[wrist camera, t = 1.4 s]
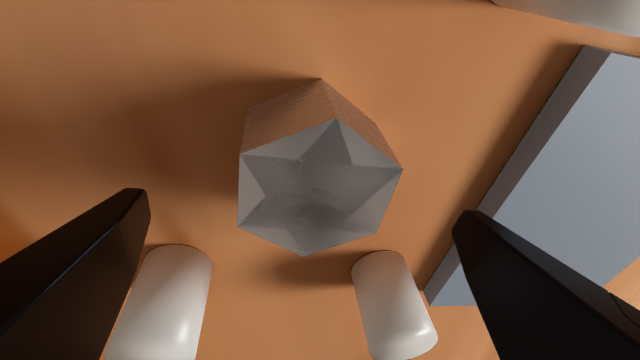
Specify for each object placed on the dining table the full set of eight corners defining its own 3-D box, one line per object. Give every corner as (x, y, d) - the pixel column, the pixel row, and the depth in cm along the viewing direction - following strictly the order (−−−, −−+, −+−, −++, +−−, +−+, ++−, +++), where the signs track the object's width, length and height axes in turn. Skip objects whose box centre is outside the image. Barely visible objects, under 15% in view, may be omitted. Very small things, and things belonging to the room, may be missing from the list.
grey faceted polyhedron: (348, 203, 13) (365, 257, 11) (243, 196, 12) (236, 254, 10) (386, 87, 10) (420, 128, 8) (249, 66, 9) (241, 105, 7)
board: (568, 290, 20) (580, 304, 19) (422, 290, 18) (429, 306, 17) (796, 90, 12) (832, 100, 11) (584, 44, 10) (611, 52, 9)
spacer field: (394, 285, 17) (422, 360, 14) (148, 284, 15) (114, 377, 11) (618, -117, 7) (871, -168, 4) (-4, -349, 5) (-558, -953, 2)
